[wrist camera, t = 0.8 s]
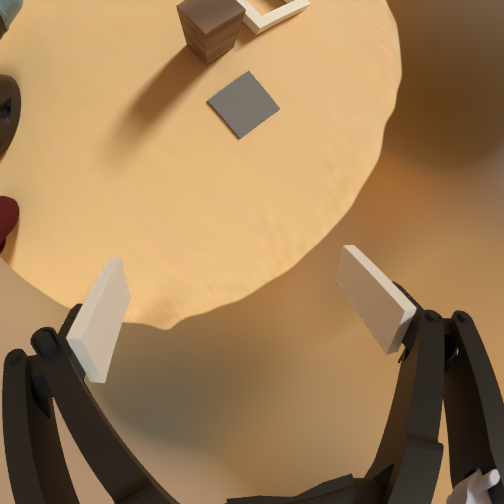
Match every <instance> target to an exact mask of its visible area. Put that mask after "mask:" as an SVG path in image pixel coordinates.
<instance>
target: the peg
mask: <svg viewBox="0 0 504 504" xmlns="http://www.w3.org/2000/svg"><path fill="white" fill-rule="evenodd" d="M176 7H177V11H178V14H179V18H180V21H181V25H182V29H183V32H184V36H185V39H186V43H187V45H188V46H189V47H190V48H191V49H192V50H193V51H194V52H195V53H196V54H197V55H198V56H199V57H200V58H201V59H202V60H203V61H204V63H205V64H206V65H208V64H209V63H211V62H212V61H214V60H215V59H217V58H218V57H219V56H221V55H222V54H224V53H225V52H227V51H228V50H230V49H232V48H233V47H234V44H235V41H236V38H237V35H238V32H239V29H240V26H241V23H242V20H243V17H244V15H245V12H246V9H245V8H244V7H243V6H242V5H241V4H240V3H239V2H238V1H237V0H185V1H183V2H182V3H180V4H179V5H177V6H176Z"/></svg>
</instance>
